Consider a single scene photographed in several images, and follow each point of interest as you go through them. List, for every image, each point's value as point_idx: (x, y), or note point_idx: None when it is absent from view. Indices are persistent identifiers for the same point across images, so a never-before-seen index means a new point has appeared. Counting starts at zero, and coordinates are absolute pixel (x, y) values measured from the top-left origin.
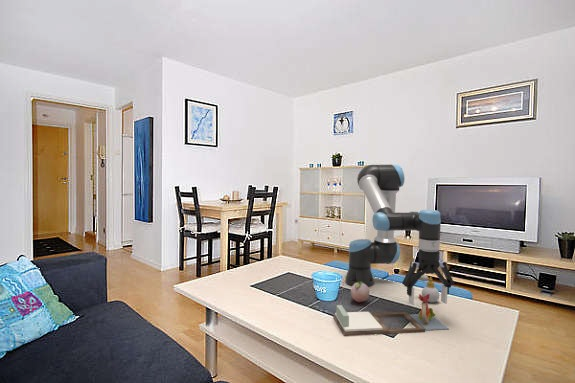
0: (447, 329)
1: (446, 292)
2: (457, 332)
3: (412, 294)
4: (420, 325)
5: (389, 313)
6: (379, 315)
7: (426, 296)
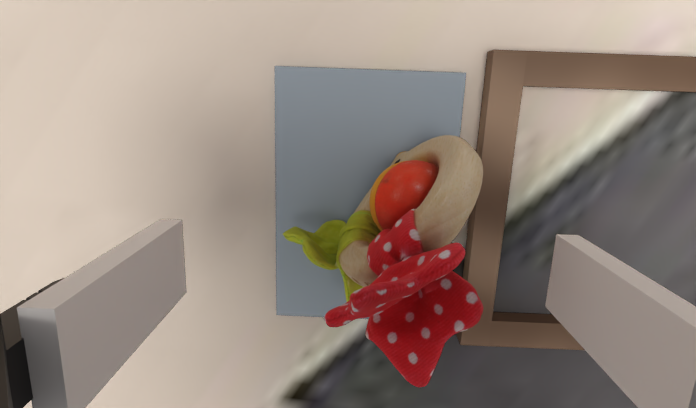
0: (288, 67)
1: (92, 270)
2: (238, 12)
3: (658, 286)
4: (486, 119)
5: None
6: None
7: (407, 277)
